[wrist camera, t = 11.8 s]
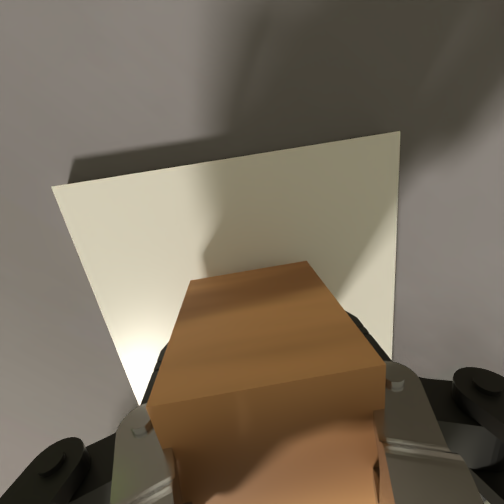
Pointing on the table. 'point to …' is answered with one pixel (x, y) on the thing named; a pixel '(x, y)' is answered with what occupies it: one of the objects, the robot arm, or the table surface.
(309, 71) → the table surface
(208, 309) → the orange block
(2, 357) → the table surface
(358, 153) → the pad
